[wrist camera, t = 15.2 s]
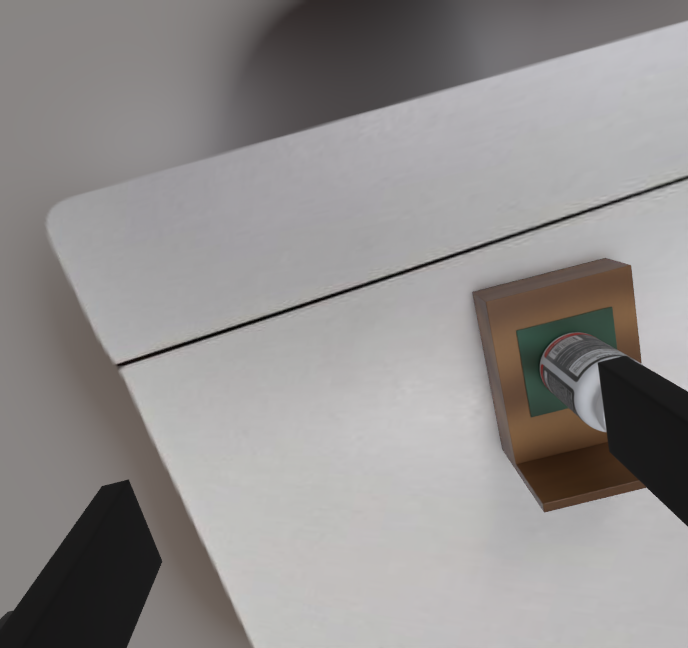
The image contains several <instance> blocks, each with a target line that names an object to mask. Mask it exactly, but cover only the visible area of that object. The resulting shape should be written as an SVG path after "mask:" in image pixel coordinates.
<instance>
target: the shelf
mask: <svg viewBox="0 0 688 648" xmlns="http://www.w3.org/2000/svg"><path fill="white" fill-rule="evenodd" d="M473 298H474V303H475V308H476V313H477V319H478V324H479V329H480V334H481V340H482V345H483V350H484V355H485V360H486V366H487V371H488V376H489V381H490V387H491V392H492V397H493V402H494V408H495V413H496V418H497V423H498V428H499V434H500V439H501V444H502V449H503V451H504V453H505V454H506V456H507V457H508V459H509V460H510V462H511V463H512V465H513V466H514V468H515V469H516V471H517V472H518V474H519V475H520V477H521V478H522V480H523V481H524V483H525V484H526V486H527V487H528V489H529V490H530V492H531V493H532V495H533V496H534V498H535V499H536V501H537V502H538V504H539V505H540V507H541V508H542V510H543V511H544V512H548V511H552V510H556V509H560V508H564V507H569V506H573V505H577V504H581V503H585V502H589V501H593V500H597V499H601V498H606V497H610V496H614V495H618V494H622V493H626V492H630V491H634V490H639V489H643V488H647V487H646V486H645V485H644V484H643V483H642V482H640V481H639V480H638V479H637V478H636V477H635V476H634V475H633V474H632V473H631V472H630V471H629V470H628V469H627V468H626V467H625V466H624V465H623V464H622V463H620V462H619V461H618V460H617V459H616V458H615V457H614V456H613V455H612V454H611V453H610V452H609V446H608V439H607V432H602V431H599V430H596V429H594V428H592V427H590V426H589V425H588V424H586V423H585V422H584V421H582V420H581V419H580V418H579V417H578V416H577V415H576V414H575V413H574V412H573V411H572V410H570V409H569V408H568V407H567V406H566V405H565V404H564V403H563V402H562V401H560V400H559V399H558V398H557V397H556V396H555V395H554V394H553V393H551V392H550V391H549V389H548V388H547V387H546V386H545V385H544V383H543V381H542V379H541V376H540V361H541V357H542V355H543V353H544V351H545V349H546V348H547V347H548V346H549V344H550V343H551V342H553V341H554V340H555V339H557V338H558V337H560V336H562V335H565V334H568V333H575V332H580V333H586V334H589V335H592V336H594V337H596V338H597V339H599V340H601V341H602V342H604V343H606V344H608V345H610V346H611V347H613V348H615V349H617V350H619V351H620V352H622V353H624V354H626V355H627V356H629V357H631V358H633V359H635V360H636V361H638V362H639V363H641V354H640V345H639V336H638V326H637V317H636V308H635V298H634V289H633V280H632V270H631V265H628V264H625V263H621V262H618V261H614V260H610V259H607V258H604V259H600V260H596V261H592V262H588V263H585V264H581V265H577V266H573V267H569V268H565V269H561V270H557V271H553V272H549V273H545V274H541V275H537V276H534V277H530V278H526V279H522V280H518V281H514V282H510V283H506V284H502V285H498V286H494V287H490V288H486V289H483V290H479V291H475V292H473Z"/></svg>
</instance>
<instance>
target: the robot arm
mask: <svg viewBox="0 0 688 648" xmlns="http://www.w3.org/2000/svg"><path fill="white" fill-rule="evenodd" d="M598 370H599V377H600V385H601V393H602V400H603V408H604V416H605V423H606V431H607V439H608V446H609V452H610V453H611V454H612V455H613V456H614V457H615V458H616V459H617V460H618V461H619V462H620V463H622V464H623V465H624V466H625V467H626V468H627V469H628V470H629V471H630V472H631V473H632V474H633V475H634V476H635V477H636V478H637V479H638V480H639V481H640V482H642V483H643V484H644V485H645V486H646V487H647V488H648V489H649V490H650V491H651V492H652V493H653V494H654V495H655V496H656V497H657V498H658V499H659V500H660V501H661V502H663V503H664V504H665V505H666V506H667V507H668V508H669V509H670V510H671V511H672V512H673V513H674V514H675V515H676V516H677V517H678V518H679V519H680V520H681V521H682V522H684V523H685V524H686V525H687V526H688V392H687V391H686V390H684V389H682V388H681V387H679V386H677V385H675V384H674V383H672V382H670V381H669V380H667V379H665V378H663V377H662V376H660V375H658V374H657V373H655V372H653V371H651V370H650V369H648V368H646V367H645V366H643V365H641V364H639V363H638V362H636V361H634V360H633V359H631V358H629V357H627V356H626V355H625V356H621V357H617V358H613V359H609V360H605V361H601V362H598ZM161 563H162V559H161V557H160V555H159V552H158V550H157V548H156V545H155V542H154V540H153V538H152V535H151V533H150V530H149V528H148V525H147V523H146V520H145V518H144V516H143V513H142V511H141V508H140V506H139V503H138V501H137V499H136V496H135V494H134V491H133V489H132V487H131V484H130V482H129V480H125V481H121V482H117V483H113V484H109V485H105V486H102V487H101V489H100V490H99V491H98V493H97V494H96V496H95V497H94V498H93V500H92V501H91V503H90V504H89V505H88V507H87V508H86V509H85V511H84V513H83V514H82V515H81V517H80V518H79V519H78V521H77V522H76V524H75V525H74V527H73V528H72V529H71V531H70V532H69V533H68V535H67V536H66V538H65V539H64V540H63V542H62V543H61V545H60V546H59V548H58V549H57V551H56V552H55V553H54V555H53V556H52V557H51V559H50V560H49V562H48V563H47V565H46V566H45V567H44V569H43V570H42V571H41V573H40V574H39V576H38V577H37V579H36V580H35V582H34V583H33V584H32V586H31V587H30V588H29V590H28V591H27V593H26V594H25V596H24V597H23V598H22V600H21V601H20V603H19V604H18V605H17V607H16V608H15V610H14V611H10V612H7V613H6V614H5V615H4V616H3V617H2V618H1V619H0V648H127V645H128V643H129V641H130V638H131V636H132V633H133V631H134V629H135V626H136V624H137V621H138V619H139V616H140V614H141V612H142V609H143V607H144V604H145V602H146V599H147V597H148V595H149V592H150V590H151V587H152V585H153V583H154V580H155V578H156V575H157V573H158V570H159V568H160V566H161Z"/></svg>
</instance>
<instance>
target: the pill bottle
mask: <svg viewBox="0 0 688 648" xmlns="http://www.w3.org/2000/svg"><path fill="white" fill-rule="evenodd" d="M625 355H626V354H624V353H622V352H620V351H619V350H617V349H615V348H613V347H611V346H610V345H608V344H606V343H604V342H602V341H601V340H599V339H597V338H596V337H594V336H592V335H589V334H586V333H580V332H575V333H568V334H565V335H562V336H560V337H558V338H557V339H555V340H554V341H553V342H551V343H550V344H549V346H548V347H547V348H546V349H545V351H544V353H543V355H542V357H541V361H540V376H541V379H542V381H543V383H544V385H545V386H546V387H547V388H548V389H549V391H550V392H551V393H553V394H554V395H555V396H556V397H557V398H558V399H559V400H560V401H562V402H563V403H564V404H565V405H566V406H567V407H568V408H569V409H570V410H572V411H573V412H574V413H575V414H576V415H577V416H578V417H579V418H580V419H581V420H582V421H584V422H585V423H586V424H588V425H589V426H590V427H592V428H594V429H596V430H599V431H602V432H607V431H606V423H605V416H604V408H603V400H602V393H601V385H600V377H599V370H598V362H601V361H605V360H609V359H613V358H617V357H621V356H625ZM626 356H627V355H626ZM627 357H629V356H627ZM629 358H631V357H629ZM631 359H633V358H631ZM633 360H634V361H636V360H635V359H633ZM636 362H638V361H636ZM638 363H639V362H638ZM639 364H641V363H639ZM641 365H642V364H641Z"/></svg>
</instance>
